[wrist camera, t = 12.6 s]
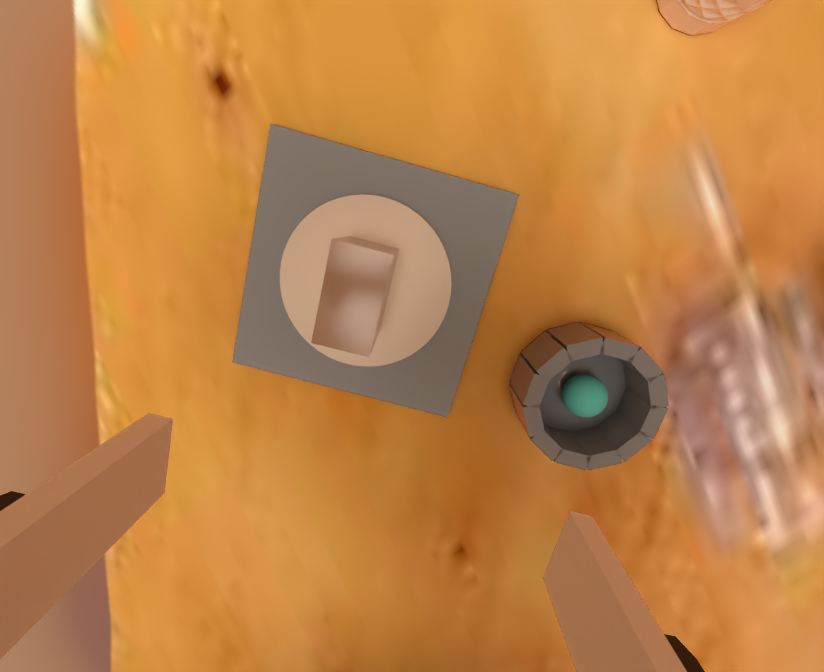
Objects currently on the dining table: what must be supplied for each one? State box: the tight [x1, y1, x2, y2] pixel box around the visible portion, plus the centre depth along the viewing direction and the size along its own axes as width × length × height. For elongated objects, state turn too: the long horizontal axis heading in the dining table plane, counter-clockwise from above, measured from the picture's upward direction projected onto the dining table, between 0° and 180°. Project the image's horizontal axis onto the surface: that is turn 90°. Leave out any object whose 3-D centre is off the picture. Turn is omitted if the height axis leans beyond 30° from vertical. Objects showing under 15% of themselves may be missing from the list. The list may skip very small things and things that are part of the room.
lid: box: [280, 194, 452, 367], centre depth 31 cm, size 14×14×8 cm
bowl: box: [510, 322, 668, 470], centre depth 35 cm, size 11×11×5 cm
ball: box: [562, 374, 608, 417], centre depth 34 cm, size 4×4×4 cm
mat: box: [233, 124, 519, 417], centre depth 35 cm, size 20×20×1 cm
